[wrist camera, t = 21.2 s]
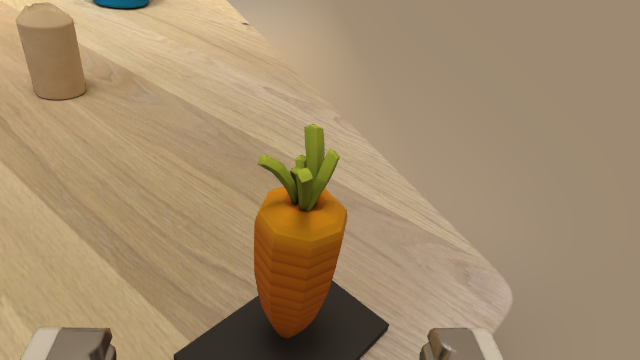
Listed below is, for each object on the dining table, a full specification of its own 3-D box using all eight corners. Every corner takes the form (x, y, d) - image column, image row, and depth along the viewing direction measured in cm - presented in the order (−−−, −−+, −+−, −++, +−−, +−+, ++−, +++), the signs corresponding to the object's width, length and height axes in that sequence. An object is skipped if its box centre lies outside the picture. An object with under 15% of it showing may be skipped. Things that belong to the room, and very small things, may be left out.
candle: (86, 99, 52) (69, 13, 46) (33, 101, 50) (8, 12, 44) (86, 80, 56) (71, 0, 50) (36, 82, 54) (15, -2, 48)
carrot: (294, 386, 26) (330, 183, 17) (231, 340, 28) (236, 137, 19) (337, 330, 29) (384, 139, 21) (279, 293, 31) (300, 104, 23)
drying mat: (259, 462, 23) (260, 457, 22) (173, 360, 27) (173, 354, 26) (387, 329, 31) (389, 324, 30) (306, 266, 34) (307, 260, 34)
